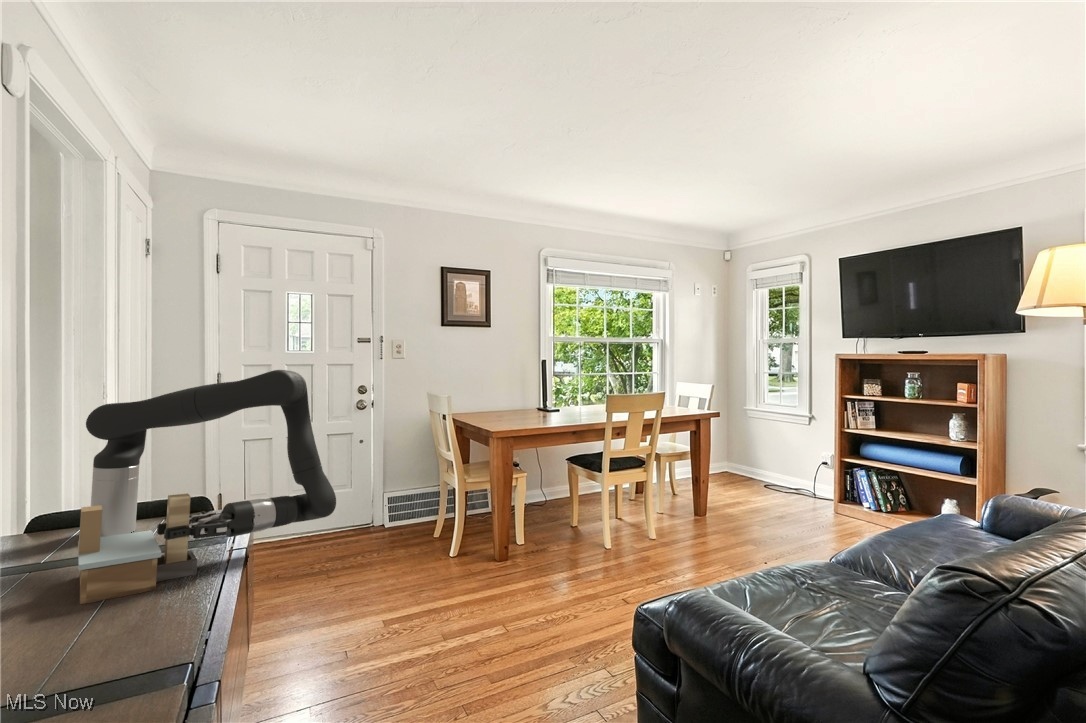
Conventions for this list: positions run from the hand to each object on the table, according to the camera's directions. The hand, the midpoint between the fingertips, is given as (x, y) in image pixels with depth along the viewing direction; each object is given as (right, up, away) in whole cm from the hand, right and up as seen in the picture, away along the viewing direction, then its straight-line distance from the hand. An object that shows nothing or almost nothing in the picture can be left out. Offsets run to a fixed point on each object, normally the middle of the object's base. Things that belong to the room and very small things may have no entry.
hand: (161, 531), depth 108 cm
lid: (-5, -2, -4) cm, 7 cm away
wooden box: (-3, -9, -2) cm, 10 cm away
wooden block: (+1, -9, +2) cm, 9 cm away
